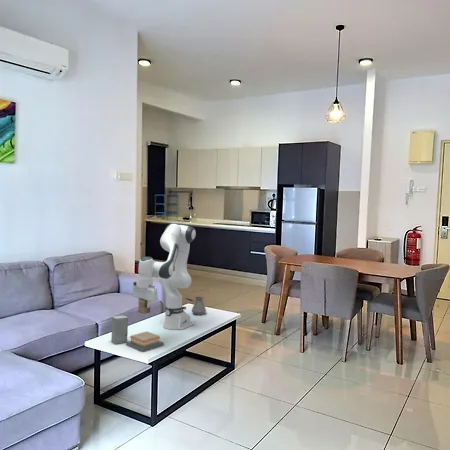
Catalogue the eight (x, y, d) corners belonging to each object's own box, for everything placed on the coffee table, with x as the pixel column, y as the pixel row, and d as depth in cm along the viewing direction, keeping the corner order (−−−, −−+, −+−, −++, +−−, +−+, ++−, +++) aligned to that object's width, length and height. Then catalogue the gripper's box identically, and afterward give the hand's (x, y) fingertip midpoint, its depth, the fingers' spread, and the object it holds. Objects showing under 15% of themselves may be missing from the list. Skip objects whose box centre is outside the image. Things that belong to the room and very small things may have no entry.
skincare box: (115, 344, 252) (115, 319, 251) (110, 341, 258) (111, 316, 257) (128, 342, 257) (128, 317, 256) (123, 339, 263) (124, 314, 262)
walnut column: (145, 310, 256) (145, 297, 256) (150, 312, 253) (150, 299, 252) (138, 312, 252) (138, 299, 252) (143, 313, 249) (143, 300, 248)
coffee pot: (198, 311, 335) (198, 292, 334) (209, 313, 328) (209, 295, 327) (179, 316, 319) (179, 296, 318) (190, 319, 311) (190, 299, 311)
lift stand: (147, 339, 264) (147, 329, 263) (163, 345, 253) (164, 335, 253) (126, 345, 252) (126, 335, 251) (142, 352, 241) (143, 342, 241)
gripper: (160, 285, 247) (159, 308, 248) (139, 280, 261) (138, 302, 261) (152, 287, 242) (151, 310, 243) (130, 281, 256) (130, 304, 256)
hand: (144, 306), depth 252 cm, fingers closed on walnut column, 5 cm apart
